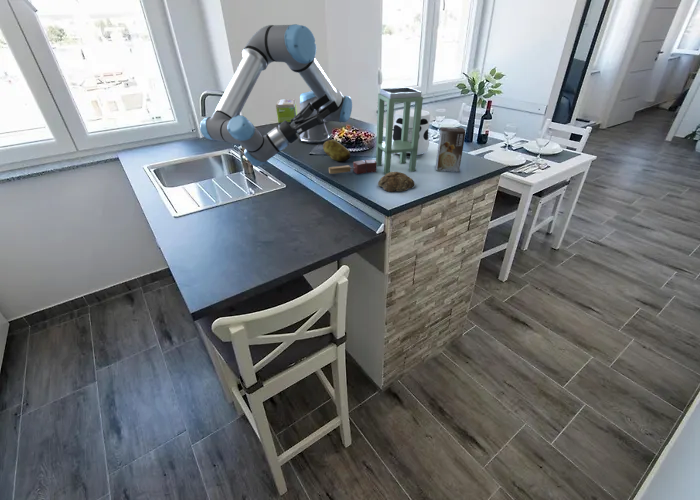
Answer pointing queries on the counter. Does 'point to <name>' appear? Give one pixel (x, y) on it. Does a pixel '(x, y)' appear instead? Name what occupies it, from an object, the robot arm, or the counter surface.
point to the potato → (336, 150)
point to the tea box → (286, 110)
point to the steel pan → (400, 92)
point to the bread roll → (396, 182)
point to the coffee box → (450, 149)
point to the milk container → (423, 133)
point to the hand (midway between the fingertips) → (331, 100)
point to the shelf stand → (403, 144)
